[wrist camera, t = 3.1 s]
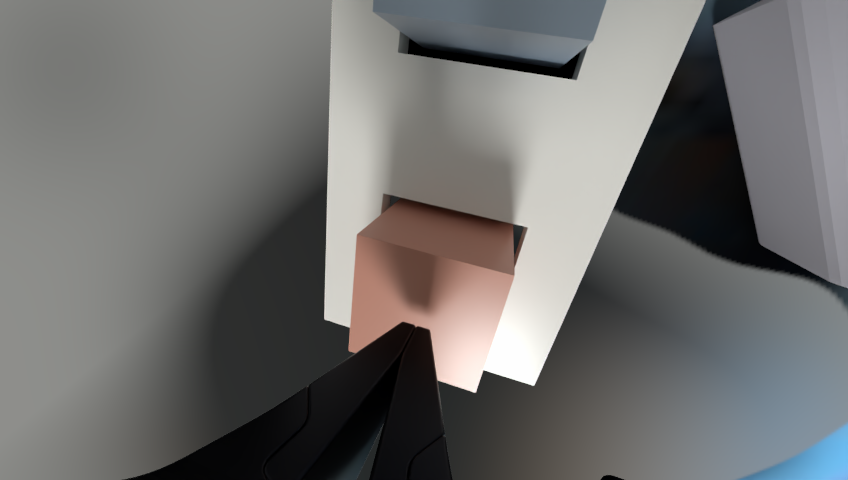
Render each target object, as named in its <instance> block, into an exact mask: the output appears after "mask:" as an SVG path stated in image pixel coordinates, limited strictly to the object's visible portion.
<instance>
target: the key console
mask: <svg viewBox="0 0 848 480" xmlns="http://www.w3.org/2000/svg"><path fill="white" fill-rule="evenodd" d="M705 1H706V0H607V1H606V4H605V7H604V10H603V13H602V16H601V19H600V22H599V25H598V28H597V31H596V34H595V37H594V40H593V41H592V42H591V43H590V44H589V45H587V46H586V47H585V48H584V49H583V50H581V52H580V55H579V58H578V61H577V64H576V67H575V70H574V74H573V77H572V79H565V78H559V77H552V76H546V75H539V74H533V73H526V72H520V71H514V70H507V69H501V68H494V67H488V66H481V65H475V64H468V63H462V62H455V61H449V60H442V59H436V58H429V57H423V56H416V55H410V54H408V46H409V37H408V36H406V35H405V34H403V33H402V32H401V31H399V30H398V29H396V28H395V27H394V26H392V25H391V24H389V23H388V22H387V21H385V20H384V19H382V18H381V17H380V16H378V15H377V14H375V13H374V12H373V0H332V23H331V24H332V25H331V26H332V27H331V64H330V65H331V66H330V67H331V68H330V105H329V146H328V188H327V228H326V229H327V230H326V270H325V312H324V319H325V320H328V321H331V322H334V323H337V324H341V325H344V326H347V327H350V323H351V309H352V295H353V281H354V267H355V253H356V238H357V234H358V233H359V232H360V231H362V230H363V229H364V228H365V227H366V226H368V225H369V224H370V223H371V222H373V221H374V220H375V219H376V218H377V217H379V216H380V215H381V214H382V213H384V212H385V211H386V210H387V209H388V208H390V201H391V195H393V196H397V197H401V198H405V199H409V200H414V201H418V202H422V203H426V204H431V205H435V206H439V207H443V208H448V209H452V210H456V211H460V212H465V213H469V214H473V215H477V216H482V217H486V218H490V219H494V220H499V221H503V222H507V223H511V224H516V225H520V226H524V228H523V231H522V234H521V238H520V241H519V244H518V247H517V250H516V253H515V256H514V271H515V276H514V279H513V282H512V285H511V288H510V291H509V294H508V297H507V300H506V303H505V306H504V309H503V312H502V315H501V318H500V321H499V324H498V327H497V330H496V333H495V336H494V339H493V342H492V345H491V348H490V351H489V354H488V357H487V360H486V363H485V366H484V369H483V370H486V371H489V372H492V373H495V374H498V375H501V376H504V377H508V378H511V379H514V380H517V381H520V382H523V383H527V384H530V385H533V386H534V385H535V382H536V380H537V378H538V376H539V374H540V371H541V369H542V367H543V365H544V362H545V360H546V358H547V356H548V353H549V351H550V349H551V347H552V344H553V342H554V340H555V338H556V336H557V333H558V331H559V329H560V327H561V324H562V322H563V320H564V318H565V315H566V313H567V311H568V308H569V306H570V304H571V302H572V300H573V297H574V295H575V293H576V291H577V288H578V286H579V284H580V281H581V279H582V277H583V275H584V273H585V270H586V268H587V266H588V264H589V262H590V259H591V257H592V255H593V252H594V250H595V248H596V246H597V244H598V241H599V239H600V237H601V235H602V232H603V230H604V228H605V226H606V223H607V221H608V219H609V217H610V214H611V212H612V210H613V208H614V205H615V203H616V201H617V199H618V196H619V194H620V192H621V190H622V188H623V185H624V183H625V181H626V179H627V176H628V174H629V172H630V170H631V167H632V165H633V163H634V161H635V158H636V156H637V154H638V152H639V149H640V147H641V145H642V143H643V140H644V138H645V136H646V134H647V131H648V129H649V127H650V125H651V122H652V120H653V118H654V116H655V113H656V111H657V109H658V107H659V105H660V102H661V100H662V98H663V96H664V93H665V91H666V89H667V87H668V84H669V82H670V80H671V78H672V75H673V73H674V71H675V69H676V66H677V64H678V62H679V60H680V57H681V55H682V53H683V51H684V48H685V46H686V44H687V42H688V39H689V37H690V35H691V33H692V31H693V28H694V26H695V24H696V22H697V19H698V17H699V15H700V13H701V10H702V8H703V6H704V4H705Z"/></svg>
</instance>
